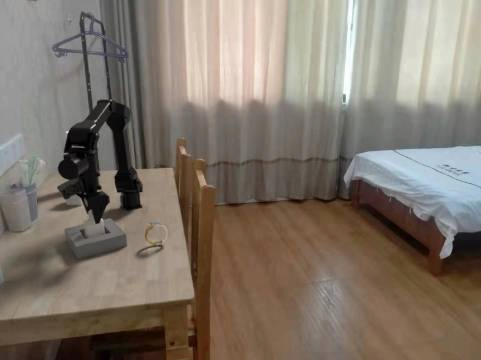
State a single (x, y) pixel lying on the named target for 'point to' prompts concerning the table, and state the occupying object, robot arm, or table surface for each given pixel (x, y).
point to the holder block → (95, 239)
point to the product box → (74, 200)
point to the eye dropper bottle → (93, 227)
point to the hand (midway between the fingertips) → (93, 218)
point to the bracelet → (152, 228)
